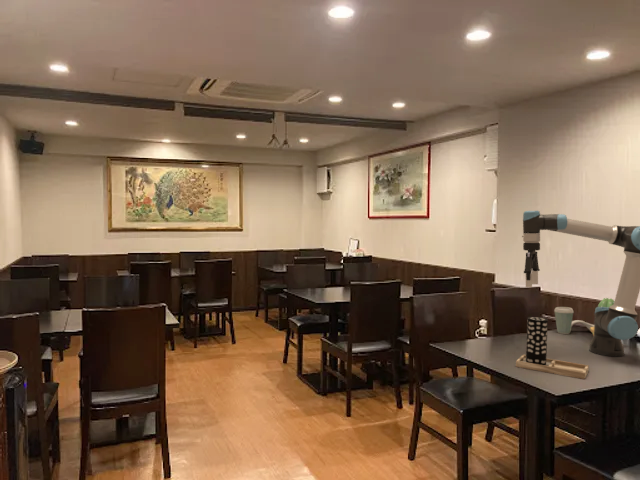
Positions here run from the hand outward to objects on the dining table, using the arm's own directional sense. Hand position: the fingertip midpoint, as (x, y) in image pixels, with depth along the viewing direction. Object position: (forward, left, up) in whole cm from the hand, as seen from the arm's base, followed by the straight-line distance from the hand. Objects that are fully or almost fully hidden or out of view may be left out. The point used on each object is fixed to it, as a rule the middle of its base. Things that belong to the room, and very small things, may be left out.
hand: (531, 285), depth 234 cm
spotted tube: (+21, +7, -33) cm, 39 cm away
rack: (+21, +14, -34) cm, 42 cm away
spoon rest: (-76, +18, -34) cm, 85 cm away
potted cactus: (-48, +29, -34) cm, 66 cm away
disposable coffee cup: (-63, +6, -34) cm, 72 cm away
